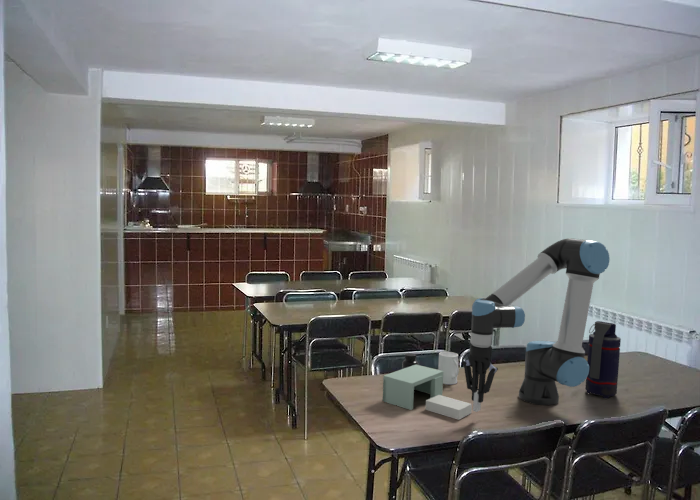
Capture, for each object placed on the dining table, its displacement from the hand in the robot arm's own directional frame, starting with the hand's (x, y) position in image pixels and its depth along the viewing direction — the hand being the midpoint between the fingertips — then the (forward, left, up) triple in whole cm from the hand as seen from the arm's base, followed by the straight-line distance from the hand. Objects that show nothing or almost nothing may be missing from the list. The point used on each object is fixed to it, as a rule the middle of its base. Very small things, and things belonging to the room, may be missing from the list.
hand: (476, 410), depth 206 cm
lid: (+12, -1, -4) cm, 12 cm away
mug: (+29, -31, -4) cm, 43 cm away
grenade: (-23, -63, -4) cm, 67 cm away
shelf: (+28, -3, -4) cm, 29 cm away
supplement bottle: (+41, -19, -4) cm, 46 cm away
